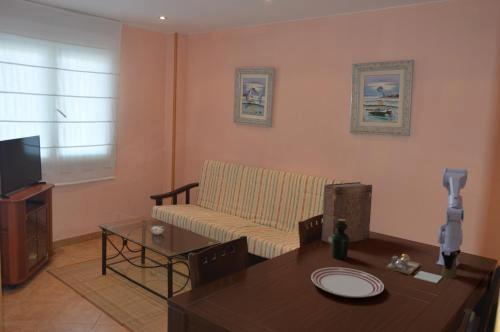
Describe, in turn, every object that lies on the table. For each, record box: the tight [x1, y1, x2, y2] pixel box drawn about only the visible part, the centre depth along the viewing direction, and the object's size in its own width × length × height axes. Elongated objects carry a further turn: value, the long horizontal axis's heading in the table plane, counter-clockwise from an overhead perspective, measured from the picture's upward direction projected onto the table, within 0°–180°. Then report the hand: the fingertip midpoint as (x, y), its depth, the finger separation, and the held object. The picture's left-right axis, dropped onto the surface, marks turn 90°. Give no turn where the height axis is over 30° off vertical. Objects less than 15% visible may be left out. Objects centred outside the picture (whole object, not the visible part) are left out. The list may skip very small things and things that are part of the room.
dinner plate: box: [310, 267, 385, 299], centre depth 163 cm, size 28×27×3 cm
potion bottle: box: [331, 219, 350, 260], centre depth 197 cm, size 8×8×18 cm
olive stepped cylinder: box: [441, 251, 459, 279], centre depth 179 cm, size 6×6×11 cm
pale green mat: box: [413, 270, 444, 284], centre depth 176 cm, size 9×9×1 cm
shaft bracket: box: [386, 255, 421, 275], centre depth 187 cm, size 14×10×6 cm
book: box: [321, 181, 373, 245], centre depth 224 cm, size 25×9×30 cm, turn 120°
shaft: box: [394, 253, 411, 267], centre depth 184 cm, size 11×4×4 cm, turn 142°
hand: (449, 267), depth 179 cm, fingers closed on olive stepped cylinder, 5 cm apart
